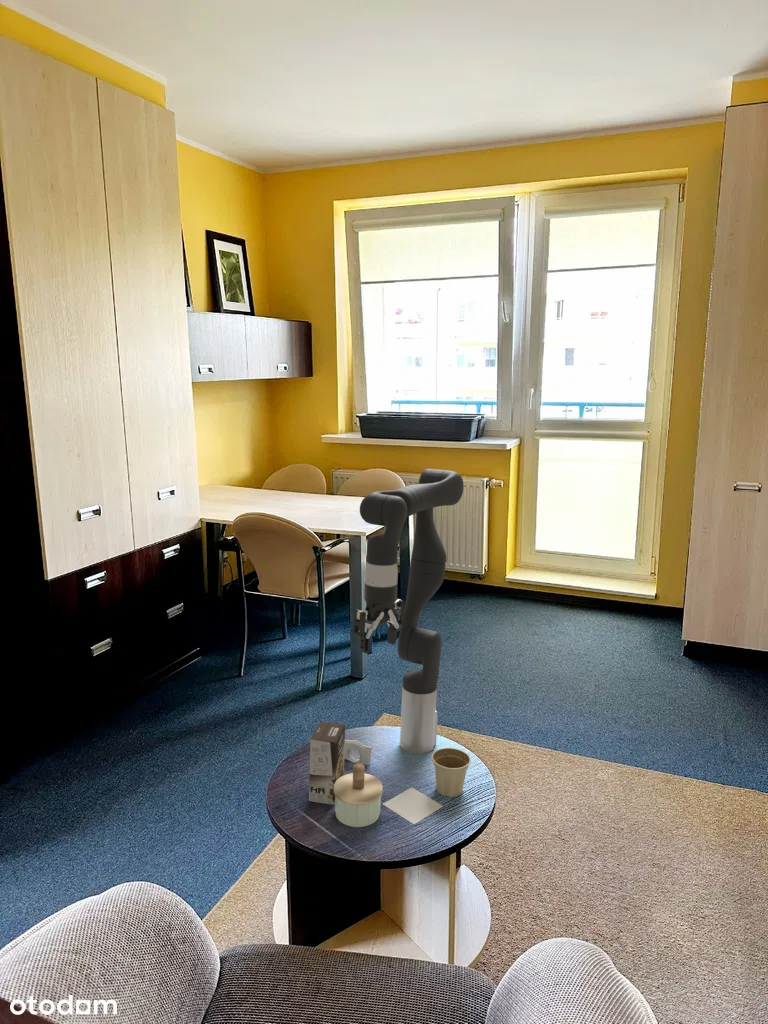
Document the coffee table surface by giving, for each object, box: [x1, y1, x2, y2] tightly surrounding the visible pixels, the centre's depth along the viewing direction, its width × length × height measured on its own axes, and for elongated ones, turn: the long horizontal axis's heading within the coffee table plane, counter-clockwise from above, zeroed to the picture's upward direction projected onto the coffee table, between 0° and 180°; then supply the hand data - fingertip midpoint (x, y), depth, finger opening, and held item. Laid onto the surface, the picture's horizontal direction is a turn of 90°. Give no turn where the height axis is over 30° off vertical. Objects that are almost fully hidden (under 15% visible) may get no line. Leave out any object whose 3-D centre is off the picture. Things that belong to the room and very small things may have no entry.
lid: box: [334, 763, 384, 805], centre depth 157 cm, size 11×11×6 cm
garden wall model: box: [344, 739, 373, 766], centre depth 180 cm, size 12×2×6 cm, turn 63°
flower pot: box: [431, 747, 472, 798], centre depth 168 cm, size 9×9×9 cm
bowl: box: [334, 796, 382, 828], centre depth 158 cm, size 10×10×6 cm
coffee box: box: [308, 721, 346, 806], centre depth 164 cm, size 9×6×16 cm
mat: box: [382, 787, 444, 825], centre depth 162 cm, size 10×10×1 cm
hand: (378, 647), depth 162 cm, fingers open, 8 cm apart
